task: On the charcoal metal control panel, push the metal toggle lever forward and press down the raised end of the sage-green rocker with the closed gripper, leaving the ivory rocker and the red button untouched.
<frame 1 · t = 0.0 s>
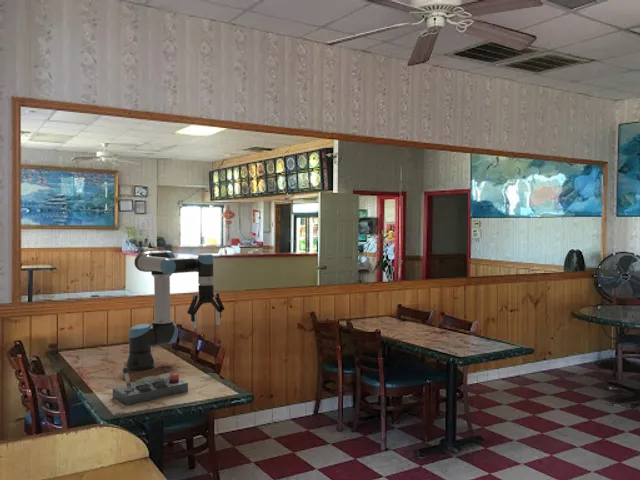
hand: (206, 326, 285), 28 cm above the table, fingers open, 13 cm apart
lever: (126, 374, 258), point 11 cm above the table, hinge at -25.0°
panel: (151, 393, 263), on the table
rocker green: (144, 380, 261), point 7 cm above the table, hinge at -20.0°
button: (174, 377, 271), point 5 cm above the table, slide at 0.2 cm
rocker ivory: (160, 377, 266), point 7 cm above the table, hinge at -20.0°
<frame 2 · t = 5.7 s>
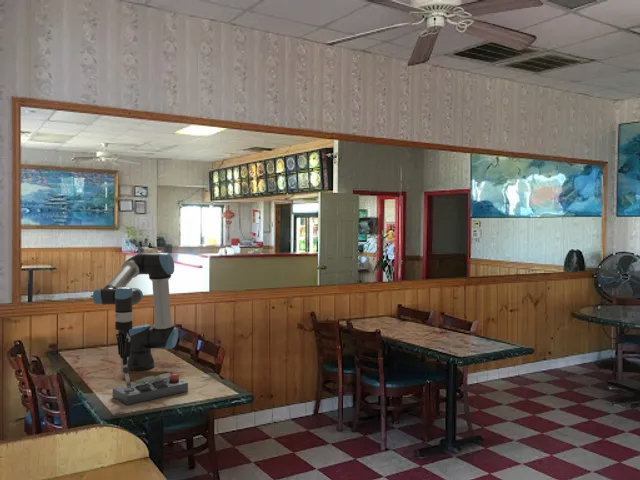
hand: (124, 371, 259), 12 cm above the table, fingers closed
lever: (126, 374, 258), point 11 cm above the table, hinge at -23.2°, touching gripper
everything else where it was.
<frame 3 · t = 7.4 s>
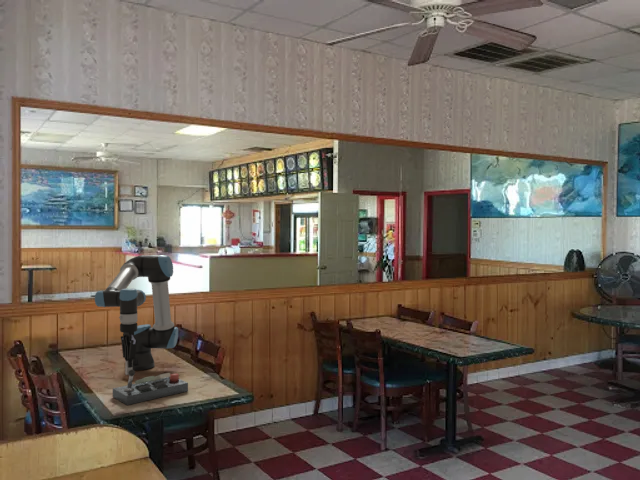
hand: (129, 374, 255), 12 cm above the table, fingers closed
lever: (131, 376, 254), point 11 cm above the table, hinge at 22.3°, touching gripper
everything else where it was.
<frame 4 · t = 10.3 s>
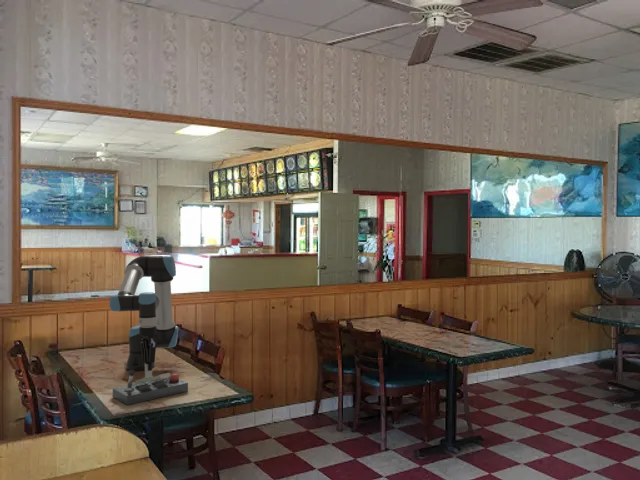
hand: (148, 377, 258), 9 cm above the table, fingers closed
lever: (131, 376, 254), point 11 cm above the table, hinge at 22.5°
rocker green: (144, 380, 261), point 7 cm above the table, hinge at -19.7°, touching gripper
everything else where it was.
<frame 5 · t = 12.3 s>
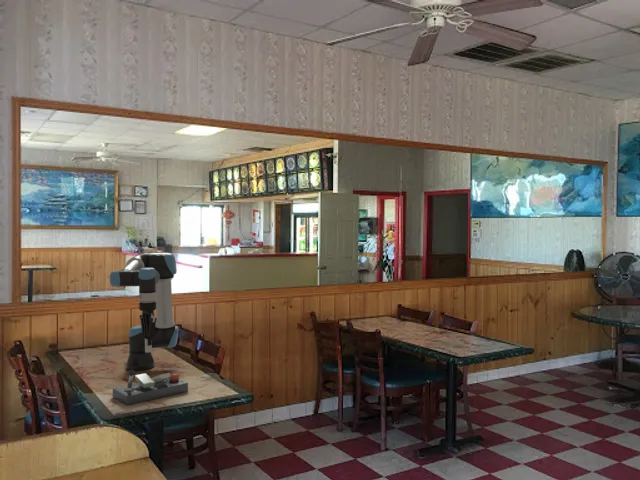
hand: (148, 351, 259), 21 cm above the table, fingers closed
rocker green: (144, 380, 261), point 7 cm above the table, hinge at 12.7°
everything else where it was.
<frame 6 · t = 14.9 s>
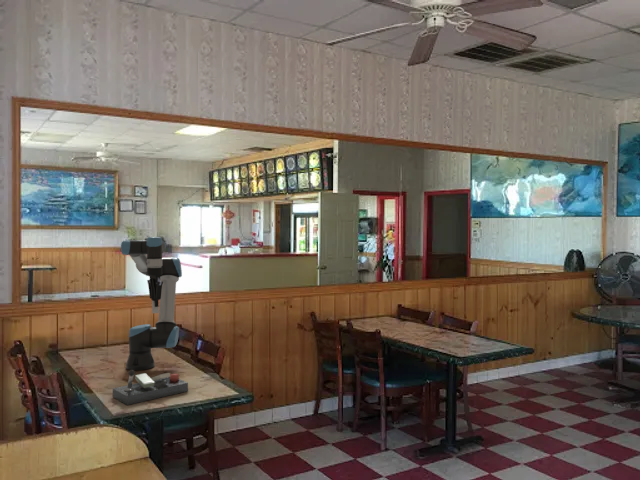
hand: (155, 312, 286), 34 cm above the table, fingers closed
rocker green: (144, 380, 261), point 7 cm above the table, hinge at 13.3°
everything else where it was.
at the end: rocker green at +13° (first picture: -20°); lever at +22° (first picture: -25°); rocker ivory at -20° (first picture: -20°) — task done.
